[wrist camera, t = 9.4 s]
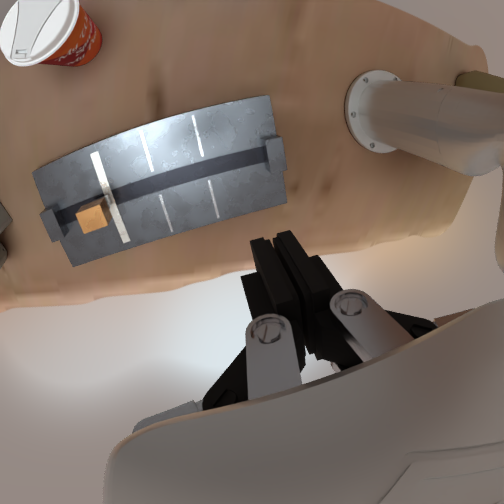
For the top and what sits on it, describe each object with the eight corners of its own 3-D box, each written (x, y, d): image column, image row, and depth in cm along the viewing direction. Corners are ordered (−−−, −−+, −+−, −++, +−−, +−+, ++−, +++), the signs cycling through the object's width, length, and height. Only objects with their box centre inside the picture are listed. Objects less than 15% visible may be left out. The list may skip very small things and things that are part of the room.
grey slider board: (264, 95, 32) (274, 94, 29) (282, 197, 39) (292, 208, 36) (38, 168, 29) (24, 176, 25) (76, 259, 36) (69, 275, 33)
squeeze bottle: (471, 114, 39) (546, 139, 24) (448, 101, 37) (533, 123, 22) (475, 78, 36) (550, 95, 20) (452, 62, 33) (536, 74, 18)
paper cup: (99, 77, 26) (55, 65, 14) (46, 73, 23) (-16, 67, 11) (120, 18, 23) (90, -24, 11) (65, 16, 20) (15, -16, 8)
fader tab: (110, 189, 31) (99, 204, 26) (116, 207, 32) (107, 225, 27) (88, 197, 30) (75, 214, 26) (95, 215, 32) (84, 234, 27)
